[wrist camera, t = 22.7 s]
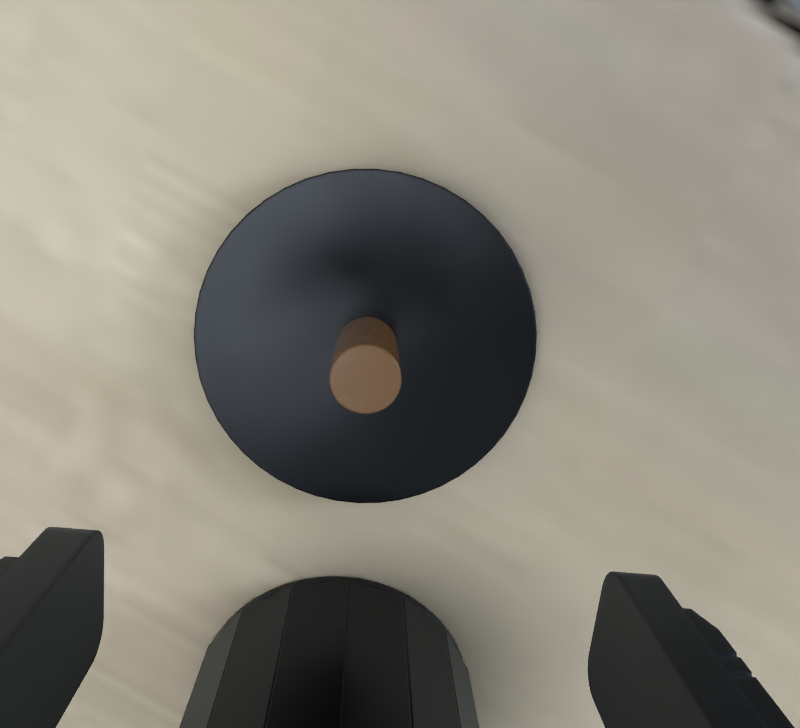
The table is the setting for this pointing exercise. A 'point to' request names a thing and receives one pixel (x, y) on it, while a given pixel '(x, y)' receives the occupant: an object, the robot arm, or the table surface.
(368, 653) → the pot
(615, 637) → the robot arm
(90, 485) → the table surface
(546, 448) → the table surface
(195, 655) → the table surface
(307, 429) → the lid
